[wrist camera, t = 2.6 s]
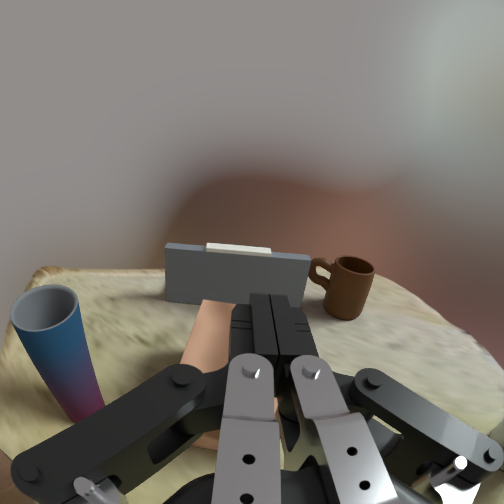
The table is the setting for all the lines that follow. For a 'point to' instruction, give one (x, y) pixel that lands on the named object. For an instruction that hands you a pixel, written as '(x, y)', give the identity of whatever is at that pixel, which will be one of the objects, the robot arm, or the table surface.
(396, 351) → the table surface
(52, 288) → the cup
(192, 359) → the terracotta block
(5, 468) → the wooden block
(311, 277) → the mug
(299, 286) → the rail
